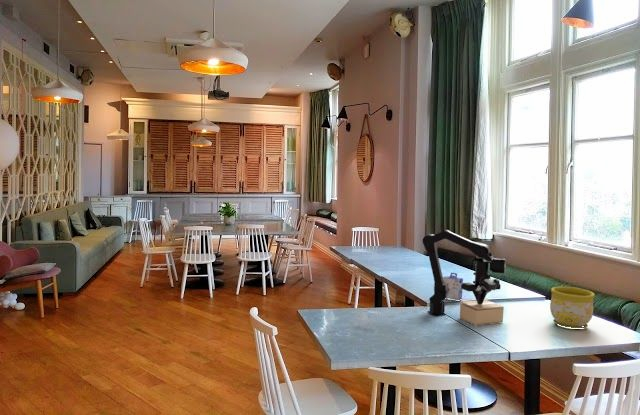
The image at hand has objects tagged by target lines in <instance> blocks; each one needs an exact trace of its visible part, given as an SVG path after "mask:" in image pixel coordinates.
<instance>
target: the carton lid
mask: <svg viewBox="0 0 640 415" xmlns="http://www.w3.org/2000/svg"><path fill="white" fill-rule="evenodd" d="M459 302H460V304H465V305H467V306H469V307H472V308H474V309H476V310H479V309H495V308H504V305H501V304H498V303H496V302H492V301H490V300H488V299H484V301H483V303H482V304H478V303H477V301H476V300H465V301H464V300H462V301H459Z"/></svg>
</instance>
